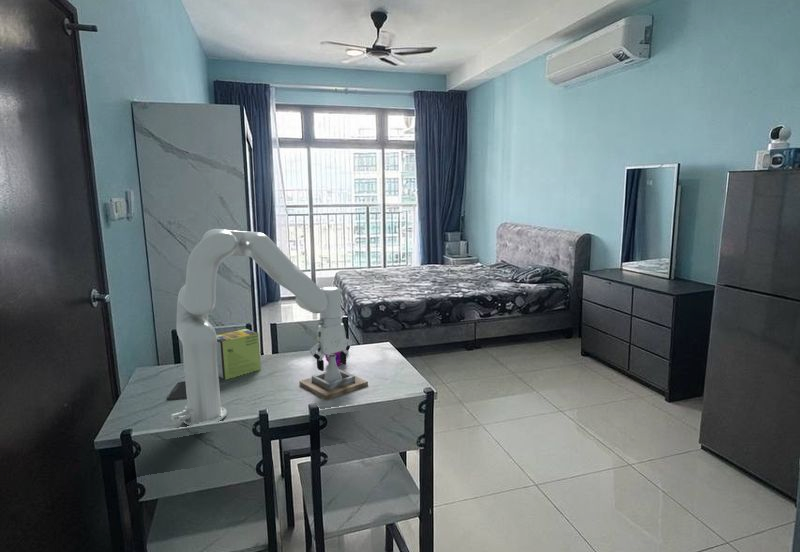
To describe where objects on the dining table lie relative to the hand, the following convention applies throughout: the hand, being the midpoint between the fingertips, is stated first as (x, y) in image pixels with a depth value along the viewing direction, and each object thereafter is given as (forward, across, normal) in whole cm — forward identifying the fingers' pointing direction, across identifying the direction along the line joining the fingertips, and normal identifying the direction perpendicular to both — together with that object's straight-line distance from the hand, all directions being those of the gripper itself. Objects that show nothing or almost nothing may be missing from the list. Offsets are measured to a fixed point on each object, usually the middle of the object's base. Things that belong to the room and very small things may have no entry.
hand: (332, 366), depth 168 cm
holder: (+7, 0, 0) cm, 7 cm away
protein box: (+8, -20, +39) cm, 44 cm away
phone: (+8, -42, +34) cm, 54 cm away
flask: (+6, 0, 0) cm, 6 cm away
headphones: (+7, +18, +24) cm, 31 cm away
